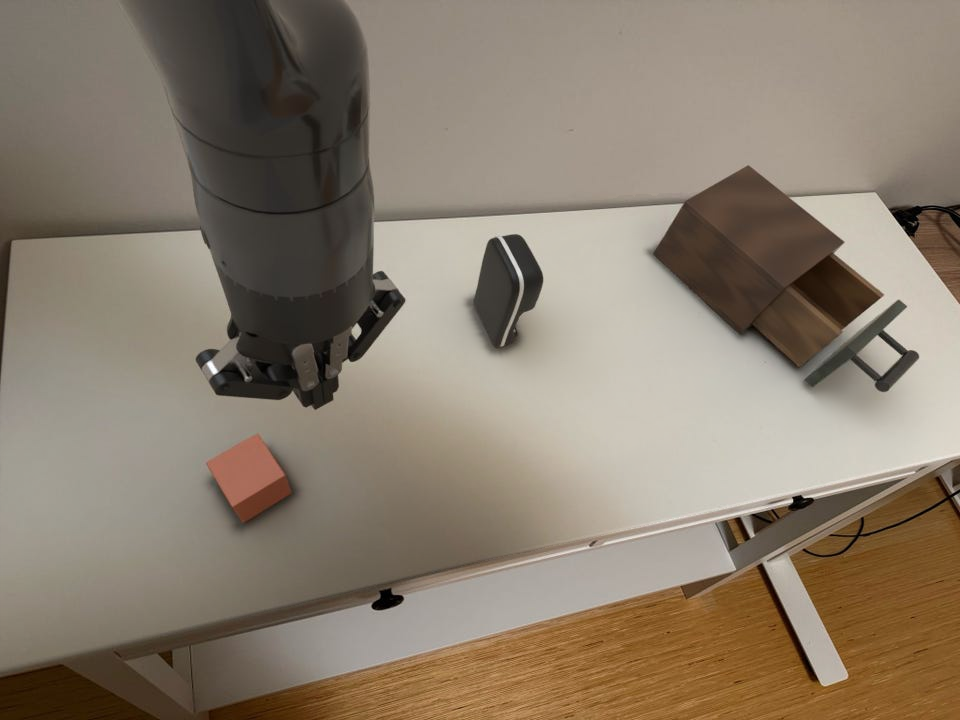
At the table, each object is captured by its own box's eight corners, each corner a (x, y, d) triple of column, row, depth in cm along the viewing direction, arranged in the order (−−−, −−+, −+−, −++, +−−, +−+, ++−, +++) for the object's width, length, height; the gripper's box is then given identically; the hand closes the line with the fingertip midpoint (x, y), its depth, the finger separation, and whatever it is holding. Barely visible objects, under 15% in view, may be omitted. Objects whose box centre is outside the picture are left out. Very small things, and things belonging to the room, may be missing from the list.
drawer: (895, 371, 70) (946, 337, 63) (847, 420, 65) (897, 389, 58) (775, 267, 75) (810, 227, 69) (722, 305, 71) (755, 266, 64)
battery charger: (526, 342, 64) (553, 276, 55) (494, 351, 63) (516, 285, 54) (501, 293, 67) (523, 223, 58) (471, 300, 66) (488, 229, 57)
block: (292, 493, 52) (285, 475, 48) (243, 523, 50) (232, 507, 46) (266, 453, 54) (257, 432, 50) (217, 481, 52) (205, 462, 48)
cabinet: (797, 290, 75) (845, 241, 68) (739, 334, 70) (785, 287, 62) (712, 217, 80) (748, 164, 72) (652, 253, 75) (684, 200, 67)
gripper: (187, 350, 23) (255, 487, 38) (452, 231, 29) (422, 390, 44) (112, 226, 26) (203, 400, 41) (370, 138, 31) (368, 319, 46)
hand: (317, 395), depth 42 cm, fingers closed
